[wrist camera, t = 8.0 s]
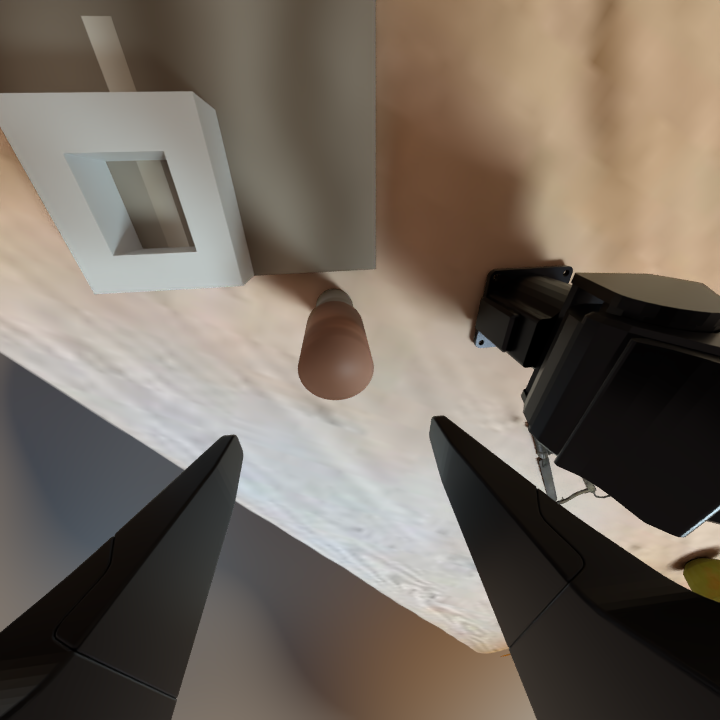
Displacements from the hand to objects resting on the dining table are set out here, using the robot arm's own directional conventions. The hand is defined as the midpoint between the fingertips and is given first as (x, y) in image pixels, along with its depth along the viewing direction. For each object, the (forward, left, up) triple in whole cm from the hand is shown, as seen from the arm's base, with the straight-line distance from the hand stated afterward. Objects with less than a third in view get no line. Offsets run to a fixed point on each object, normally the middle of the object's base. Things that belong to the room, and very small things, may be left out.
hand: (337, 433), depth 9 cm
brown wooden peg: (0, 0, -13) cm, 13 cm away
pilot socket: (+9, -7, -12) cm, 16 cm away
